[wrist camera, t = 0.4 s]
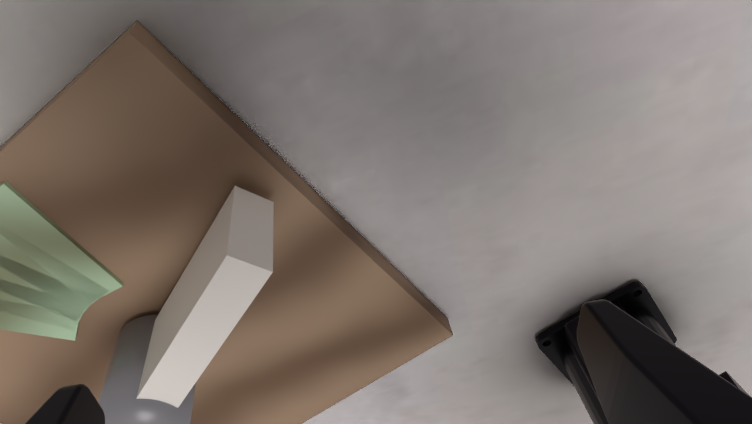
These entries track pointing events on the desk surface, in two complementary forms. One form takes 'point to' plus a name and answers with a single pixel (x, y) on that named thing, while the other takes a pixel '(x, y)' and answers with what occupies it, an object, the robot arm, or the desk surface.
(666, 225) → the desk surface
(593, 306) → the robot arm
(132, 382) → the pointer
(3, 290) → the brown wooden board
